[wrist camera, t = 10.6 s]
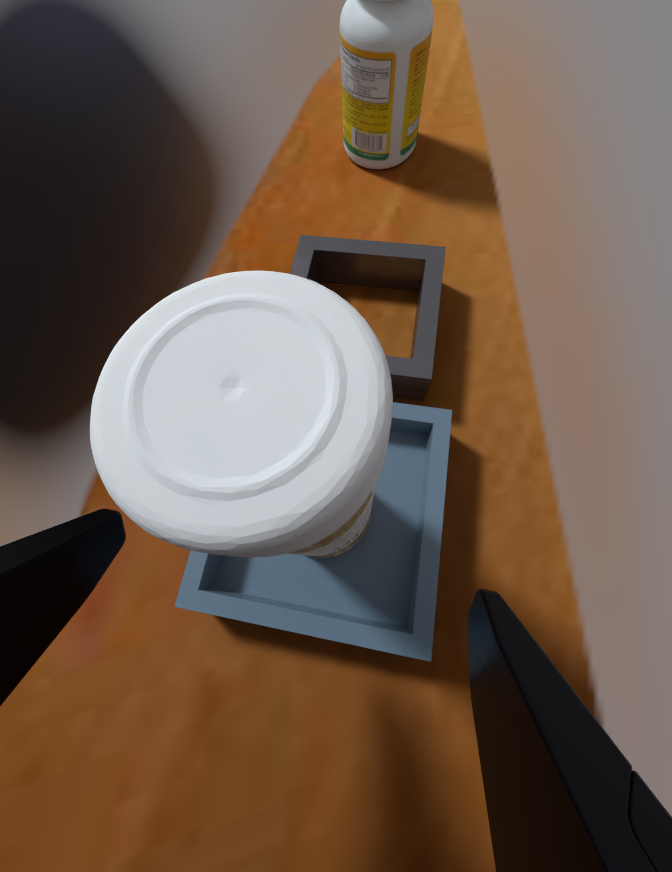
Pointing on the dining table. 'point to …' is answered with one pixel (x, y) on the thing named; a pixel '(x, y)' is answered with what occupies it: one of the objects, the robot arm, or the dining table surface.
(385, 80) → the supplement bottle
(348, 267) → the bottle holder
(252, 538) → the sprinkles bottle
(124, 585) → the dining table surface
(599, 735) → the robot arm
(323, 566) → the tray
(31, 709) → the dining table surface
